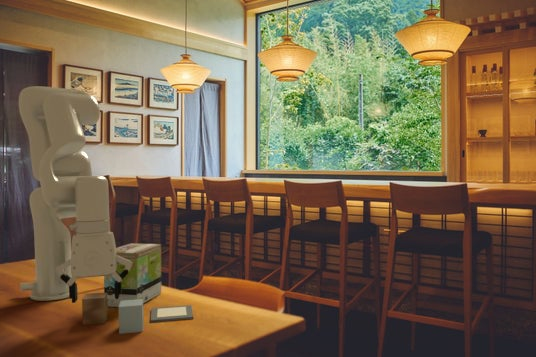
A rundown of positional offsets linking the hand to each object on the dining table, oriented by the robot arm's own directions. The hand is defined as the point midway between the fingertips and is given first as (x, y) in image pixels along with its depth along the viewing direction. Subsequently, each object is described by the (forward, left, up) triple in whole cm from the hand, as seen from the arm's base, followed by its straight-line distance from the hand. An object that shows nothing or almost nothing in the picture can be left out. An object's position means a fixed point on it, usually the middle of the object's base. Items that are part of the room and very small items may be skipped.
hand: (96, 299), depth 114 cm
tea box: (+8, +17, -6) cm, 19 cm away
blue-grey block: (+9, -8, -5) cm, 13 cm away
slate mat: (+18, +1, -5) cm, 18 cm away
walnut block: (0, +1, -5) cm, 5 cm away
